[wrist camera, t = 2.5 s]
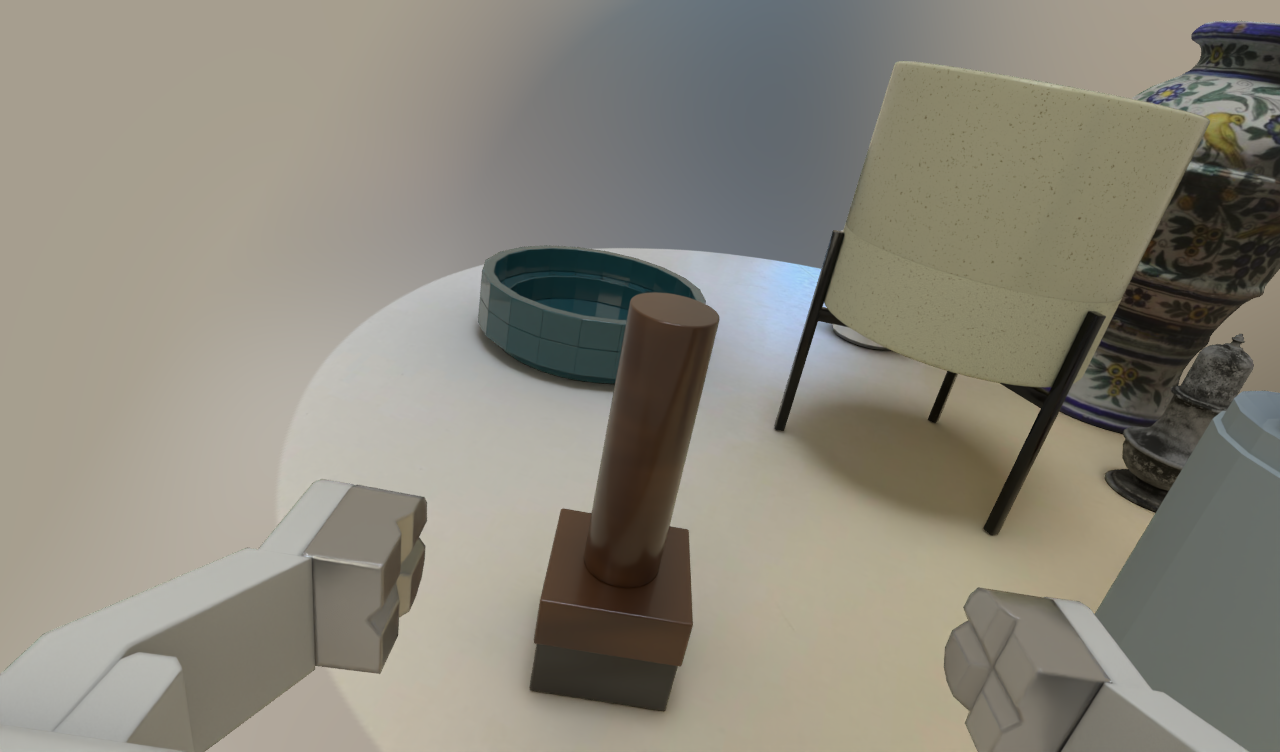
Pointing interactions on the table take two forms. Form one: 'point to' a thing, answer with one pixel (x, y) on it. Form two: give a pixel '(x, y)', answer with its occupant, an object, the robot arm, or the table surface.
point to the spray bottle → (1213, 580)
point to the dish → (567, 306)
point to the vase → (1197, 231)
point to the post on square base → (630, 524)
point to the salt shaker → (1180, 424)
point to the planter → (999, 232)
